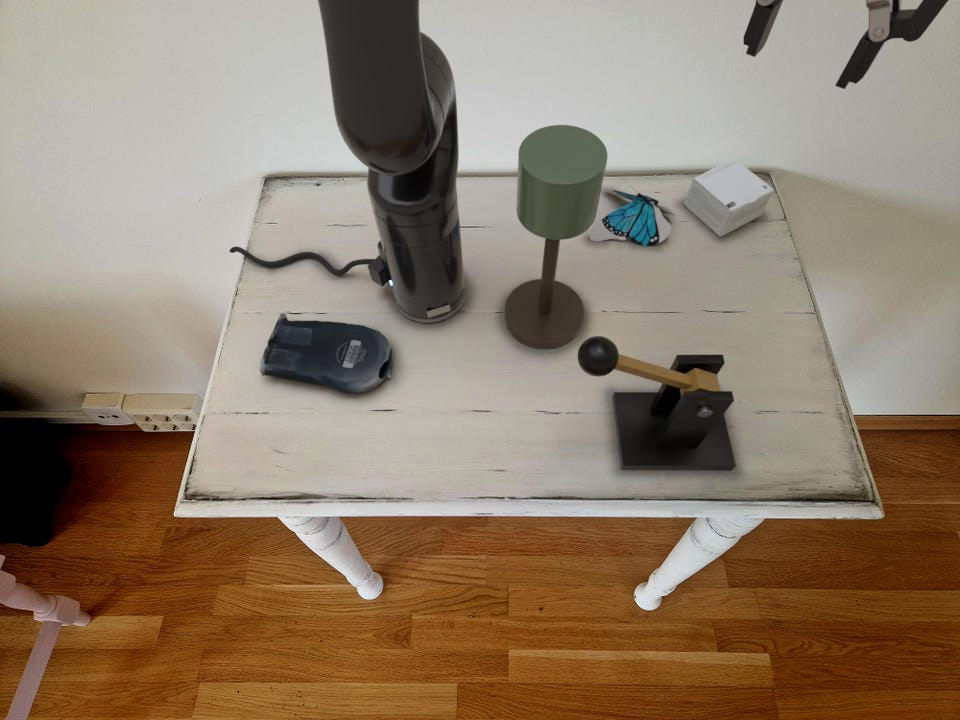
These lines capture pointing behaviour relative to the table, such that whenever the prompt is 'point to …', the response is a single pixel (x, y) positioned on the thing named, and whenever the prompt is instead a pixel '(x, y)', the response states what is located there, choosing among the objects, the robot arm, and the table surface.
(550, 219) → the desk lamp
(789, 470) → the table surface
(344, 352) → the electronic device
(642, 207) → the decorative butterfly
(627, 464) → the switch bracket
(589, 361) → the lever with ball knob
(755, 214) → the small box
